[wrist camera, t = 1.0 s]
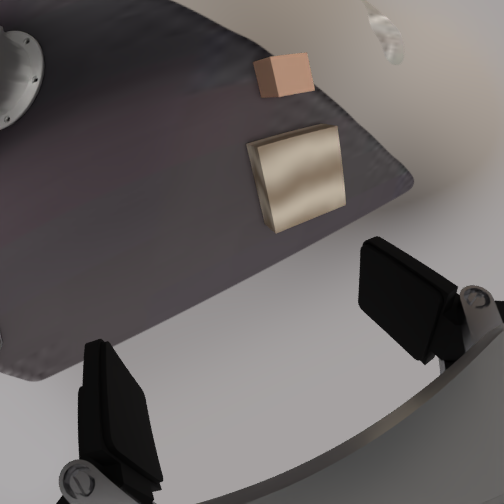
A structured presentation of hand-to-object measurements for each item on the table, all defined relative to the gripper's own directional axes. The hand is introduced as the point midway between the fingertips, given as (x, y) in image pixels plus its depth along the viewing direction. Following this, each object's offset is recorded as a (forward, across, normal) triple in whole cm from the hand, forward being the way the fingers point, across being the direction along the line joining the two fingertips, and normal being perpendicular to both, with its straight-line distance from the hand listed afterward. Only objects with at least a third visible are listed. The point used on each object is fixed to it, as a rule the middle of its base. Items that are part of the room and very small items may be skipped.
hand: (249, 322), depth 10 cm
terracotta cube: (+30, -17, -9) cm, 35 cm away
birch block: (+30, -18, +5) cm, 35 cm away
